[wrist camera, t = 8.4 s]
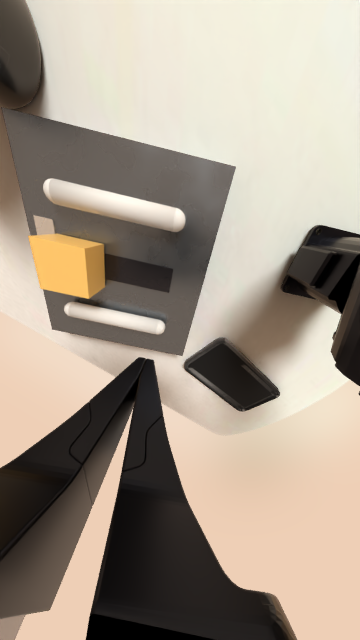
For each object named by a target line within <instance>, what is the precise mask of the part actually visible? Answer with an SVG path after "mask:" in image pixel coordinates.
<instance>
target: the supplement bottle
mask: <svg viewBox="0 0 360 640" xmlns="http://www.w3.org/2000/svg"><path fill="white" fill-rule="evenodd" d="M40 77H41V53H40V46H39V41H38V36H37V32H36V28H35V25H34V22H33V19H32V16H31V13H30V10H29V8H28V5H27V3H26V1H25V0H0V107H3V108H8V109H17V108H21V107H24V106H25V105H27V104H28V103H29V102H30V101H31V100H32V99H33V98H34V96H35V94H36V92H37V90H38V87H39V83H40Z"/></svg>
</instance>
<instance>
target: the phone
mask: <svg viewBox="0 0 360 640" xmlns="http://www.w3.org/2000/svg"><path fill="white" fill-rule="evenodd" d="M202 350H203V351H202ZM185 370H186V371H187V372H189V373H190V374H191V375H193V376H194V377H195V378H197V379H198V380H199V381H200V382H202V383H203V384H204V385H206V386H207V387H208V388H209V389H211V390H212V391H213V392H215V393H216V394H217V395H218V396H220V397H221V398H222V399H224V400H225V401H226V402H228V403H229V404H230V405H231V406H233V407H234V408H235V409H237V410H238V411H247V410H250V409H252V408H254V407H257V406H259V405H261V404H264V403H266V402H268V401H271V400H273V399H275V398H277V397H279V396H280V392H279V390H278V388H277V387H276V386H275V385H274V384H273V383H272V382H271V381H270V380H269V379H268V378H267V377H266V376H265V375H264V374H263V373H262V372H261V371H259V370H258V369H257V368H256V367H255V366H254V365H253V364H252V363H251V362H250V361H249V360H248V359H247V358H246V357H245V356H244V355H243V354H242V353H241V352H240V351H239V350H238V349H237V348H236V347H235V346H234V345H232V344H231V343H230V342H229V341H228V340H227V339H225V338H218V339H216V340H214V341H213V342H211V343H210V344H208V345H207V346H206V347H204V348H203V349H201V350H200V351H198V352H197V353H195V354H194V355H192V356H191V357H190V358H188V359H187V360H186V361H185Z"/></svg>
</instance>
